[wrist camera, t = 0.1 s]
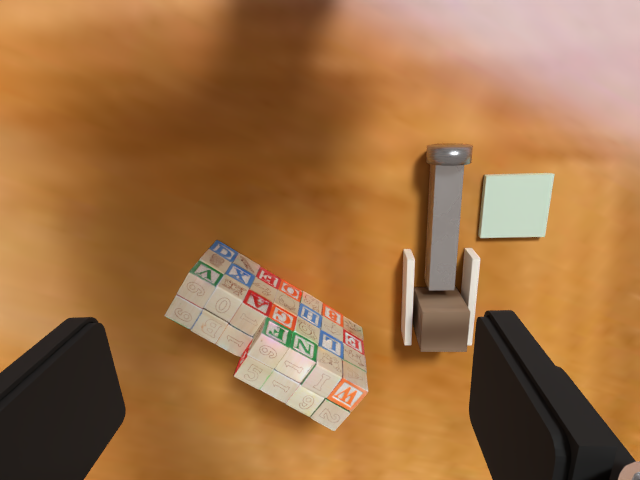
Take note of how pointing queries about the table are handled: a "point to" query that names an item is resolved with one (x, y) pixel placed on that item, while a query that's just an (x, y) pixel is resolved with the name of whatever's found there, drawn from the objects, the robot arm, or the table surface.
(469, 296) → the channel
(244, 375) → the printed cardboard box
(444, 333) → the block
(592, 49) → the table surface
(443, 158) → the rod
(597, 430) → the robot arm
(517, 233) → the pad
